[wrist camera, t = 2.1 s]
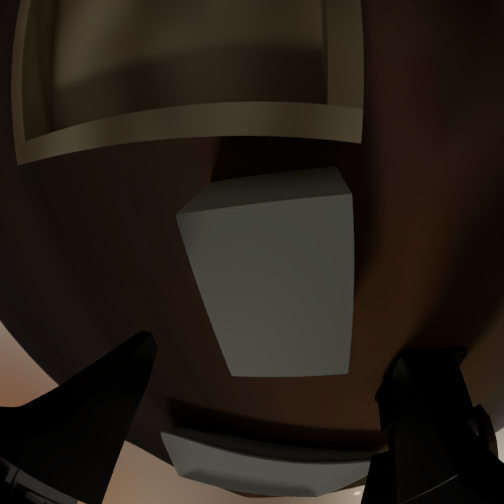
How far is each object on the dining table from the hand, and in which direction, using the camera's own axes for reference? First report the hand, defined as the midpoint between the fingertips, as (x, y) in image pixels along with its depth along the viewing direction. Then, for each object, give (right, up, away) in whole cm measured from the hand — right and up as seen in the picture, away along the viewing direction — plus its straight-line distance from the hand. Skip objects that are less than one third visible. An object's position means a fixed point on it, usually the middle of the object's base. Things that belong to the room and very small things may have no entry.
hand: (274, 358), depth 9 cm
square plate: (+1, -28, +24) cm, 37 cm away
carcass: (-5, +15, 0) cm, 16 cm away
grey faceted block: (+1, +3, +6) cm, 7 cm away
